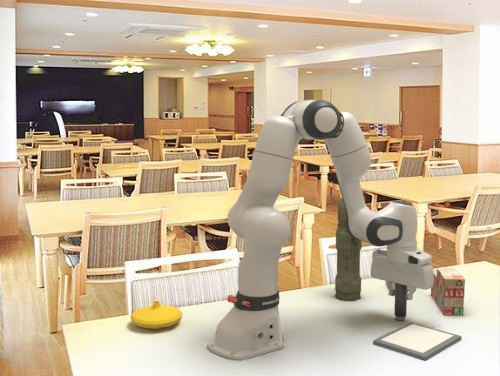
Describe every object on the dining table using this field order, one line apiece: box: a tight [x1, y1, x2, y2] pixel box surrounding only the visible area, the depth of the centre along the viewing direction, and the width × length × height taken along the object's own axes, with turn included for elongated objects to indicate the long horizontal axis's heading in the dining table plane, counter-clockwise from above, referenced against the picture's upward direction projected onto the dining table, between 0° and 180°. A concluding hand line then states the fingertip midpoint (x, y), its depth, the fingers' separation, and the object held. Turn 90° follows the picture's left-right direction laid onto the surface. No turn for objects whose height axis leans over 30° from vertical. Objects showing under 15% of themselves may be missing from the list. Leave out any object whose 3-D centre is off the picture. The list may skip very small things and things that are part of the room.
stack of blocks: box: [430, 267, 466, 317], centre depth 198 cm, size 21×6×12 cm, turn 174°
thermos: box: [334, 197, 363, 302], centre depth 205 cm, size 9×12×35 cm
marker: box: [393, 283, 408, 322], centre depth 184 cm, size 4×4×14 cm
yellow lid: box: [130, 300, 183, 330], centre depth 183 cm, size 16×16×7 cm
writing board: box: [372, 322, 462, 361], centre depth 167 cm, size 20×16×1 cm
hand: (400, 297), depth 184 cm, fingers open, 5 cm apart
